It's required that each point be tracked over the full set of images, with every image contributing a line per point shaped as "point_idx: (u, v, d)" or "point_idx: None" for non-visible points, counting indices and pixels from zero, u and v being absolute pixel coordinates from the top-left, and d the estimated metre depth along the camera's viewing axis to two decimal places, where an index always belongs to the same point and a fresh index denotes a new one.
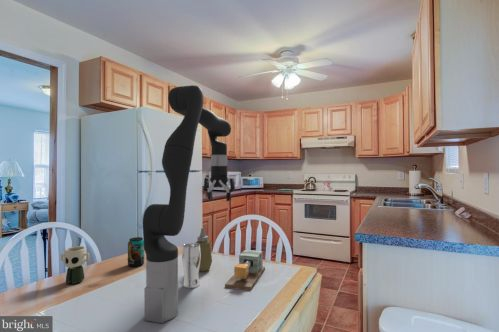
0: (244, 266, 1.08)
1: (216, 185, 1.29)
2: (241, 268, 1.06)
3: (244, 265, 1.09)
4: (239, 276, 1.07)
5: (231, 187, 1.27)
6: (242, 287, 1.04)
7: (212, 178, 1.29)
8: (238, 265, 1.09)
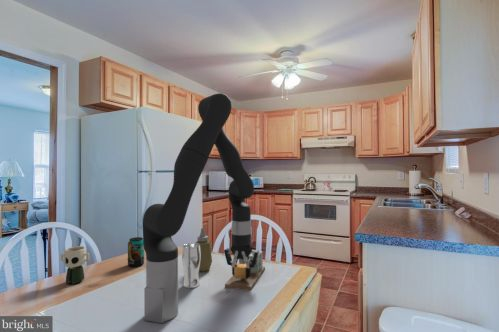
0: (244, 266, 1.08)
1: (240, 256, 1.08)
2: (241, 268, 1.06)
3: (244, 265, 1.09)
4: (239, 276, 1.07)
5: (253, 262, 1.06)
6: (242, 287, 1.04)
7: (233, 247, 1.08)
8: (238, 265, 1.09)
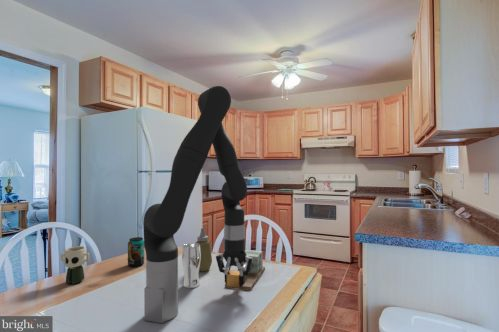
0: (237, 273, 1.00)
1: (233, 262, 1.00)
2: (234, 276, 0.99)
3: (237, 272, 1.01)
4: (232, 284, 0.99)
5: (247, 270, 0.98)
6: (242, 287, 1.04)
7: (225, 253, 1.01)
8: (231, 272, 1.01)
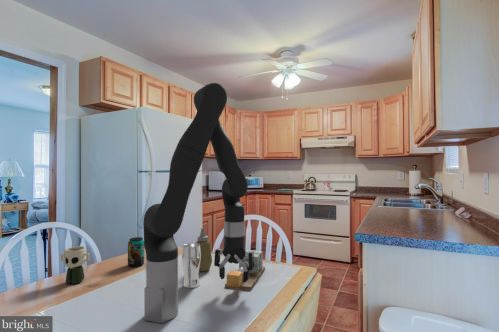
0: (237, 274, 1.00)
1: (230, 260, 1.00)
2: (234, 276, 0.99)
3: (237, 272, 1.01)
4: (232, 284, 0.99)
5: (250, 265, 0.98)
6: (242, 287, 1.04)
7: (225, 251, 1.00)
8: (231, 272, 1.01)
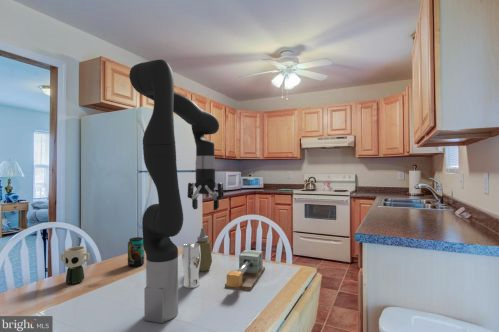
0: (237, 274, 1.00)
1: (202, 191, 1.10)
2: (234, 276, 0.99)
3: (237, 272, 1.01)
4: (232, 284, 0.99)
5: (219, 194, 1.08)
6: (242, 287, 1.04)
7: (197, 183, 1.10)
8: (231, 272, 1.01)
